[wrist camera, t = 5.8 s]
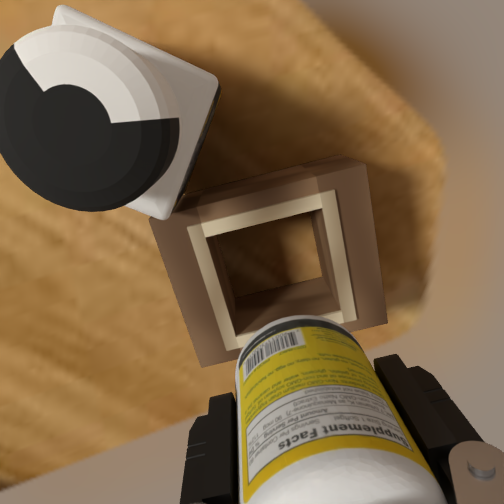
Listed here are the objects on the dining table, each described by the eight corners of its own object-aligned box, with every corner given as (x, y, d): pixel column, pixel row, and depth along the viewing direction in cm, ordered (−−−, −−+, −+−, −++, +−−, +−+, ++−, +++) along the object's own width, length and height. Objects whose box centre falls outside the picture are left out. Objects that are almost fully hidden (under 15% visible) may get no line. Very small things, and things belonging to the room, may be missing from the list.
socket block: (206, 326, 29) (201, 369, 24) (164, 199, 25) (147, 220, 20) (362, 288, 28) (389, 324, 23) (340, 154, 25) (367, 164, 20)
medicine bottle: (183, 195, 25) (144, 260, 14) (76, 151, 24) (-63, 185, 13) (224, 88, 23) (216, 63, 12) (108, 34, 22) (-24, -52, 11)
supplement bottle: (339, 426, 15) (458, 770, 7) (222, 408, 14) (212, 763, 7) (380, 322, 13) (590, 617, 6) (252, 298, 13) (284, 589, 5)
